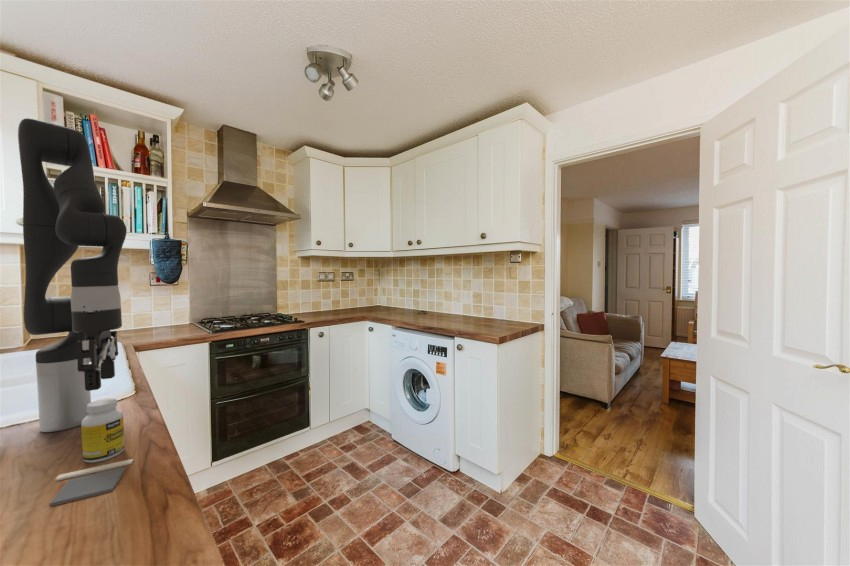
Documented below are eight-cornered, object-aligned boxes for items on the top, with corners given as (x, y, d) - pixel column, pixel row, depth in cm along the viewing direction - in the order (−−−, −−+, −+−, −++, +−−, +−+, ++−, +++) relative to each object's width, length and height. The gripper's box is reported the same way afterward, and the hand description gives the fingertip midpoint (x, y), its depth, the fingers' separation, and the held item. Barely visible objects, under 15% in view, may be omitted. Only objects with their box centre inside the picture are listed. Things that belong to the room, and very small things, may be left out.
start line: (59, 476, 65) (59, 474, 65) (133, 460, 70) (133, 458, 70) (55, 481, 63) (55, 478, 63) (131, 464, 69) (131, 462, 69)
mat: (69, 481, 63) (69, 479, 63) (125, 469, 67) (125, 466, 67) (49, 506, 56) (49, 503, 56) (112, 490, 60) (112, 488, 60)
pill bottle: (98, 465, 68) (96, 409, 68) (74, 462, 69) (71, 407, 69) (132, 449, 75) (130, 397, 74) (109, 446, 76) (107, 395, 75)
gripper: (86, 306, 75) (90, 378, 76) (55, 312, 63) (60, 397, 63) (129, 304, 79) (133, 372, 79) (109, 309, 66) (113, 390, 67)
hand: (101, 383), depth 71 cm, fingers open, 8 cm apart
